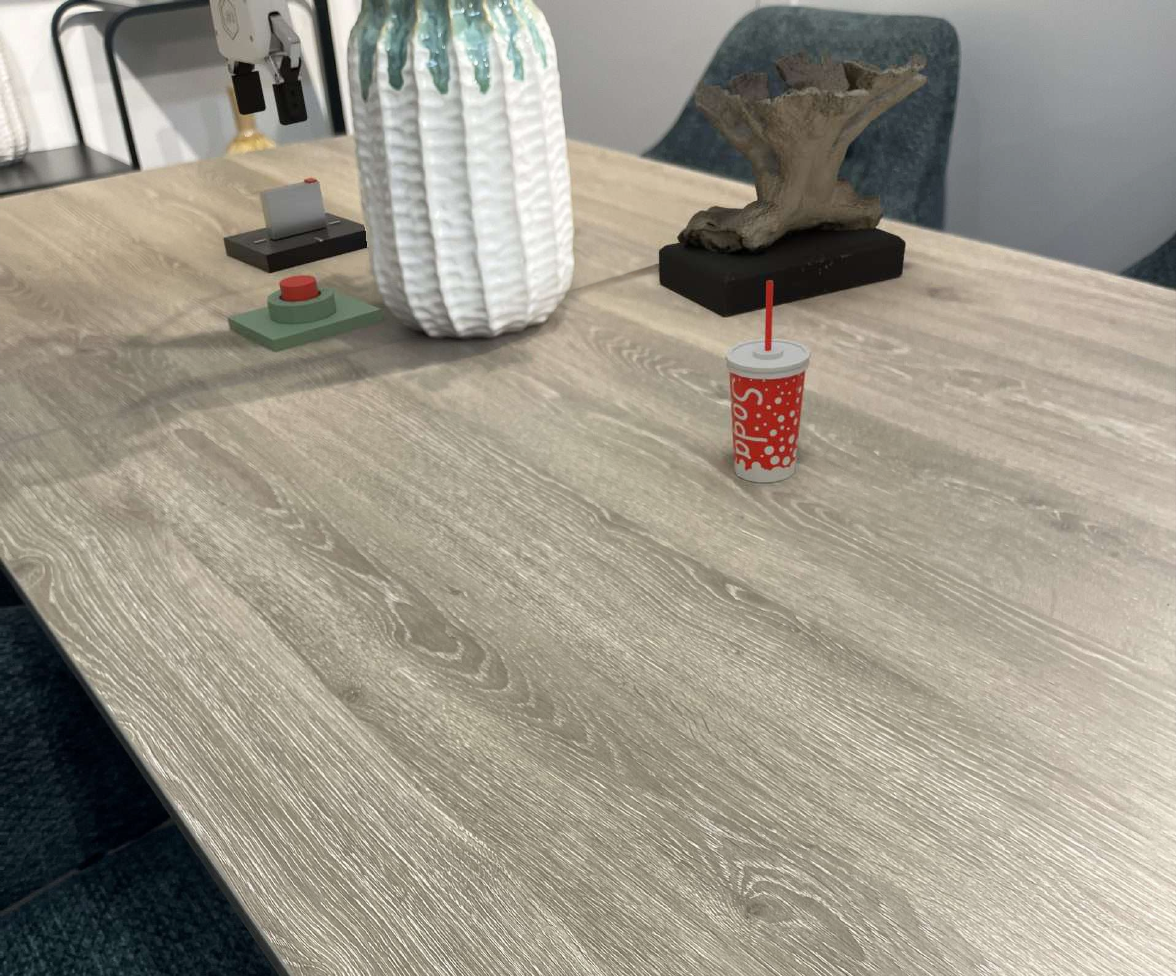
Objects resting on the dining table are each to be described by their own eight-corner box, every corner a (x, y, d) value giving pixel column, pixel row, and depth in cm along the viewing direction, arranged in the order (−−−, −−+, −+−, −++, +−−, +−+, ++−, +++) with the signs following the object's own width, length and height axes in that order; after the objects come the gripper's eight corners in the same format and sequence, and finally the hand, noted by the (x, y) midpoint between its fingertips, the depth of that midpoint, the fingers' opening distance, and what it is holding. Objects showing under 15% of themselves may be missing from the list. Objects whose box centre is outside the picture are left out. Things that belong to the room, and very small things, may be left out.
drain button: (293, 307, 125) (289, 288, 124) (276, 299, 127) (272, 281, 126) (325, 298, 127) (322, 279, 125) (308, 290, 129) (304, 272, 128)
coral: (854, 241, 143) (869, 21, 130) (968, 287, 128) (997, 43, 115) (655, 281, 136) (649, 52, 123) (751, 335, 121) (756, 81, 108)
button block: (278, 362, 123) (269, 320, 121) (232, 339, 130) (222, 299, 127) (384, 331, 129) (377, 290, 126) (335, 309, 135) (328, 270, 133)
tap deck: (272, 282, 144) (266, 253, 142) (228, 264, 151) (222, 236, 150) (378, 254, 151) (373, 226, 149) (331, 237, 158) (326, 210, 156)
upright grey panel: (274, 240, 147) (264, 191, 144) (268, 237, 148) (258, 189, 145) (327, 226, 150) (319, 179, 147) (320, 224, 151) (312, 177, 148)
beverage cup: (711, 463, 99) (711, 277, 90) (781, 447, 100) (788, 263, 92) (746, 493, 94) (750, 300, 86) (820, 476, 96) (830, 285, 87)
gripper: (168, -63, 136) (208, 115, 146) (241, -59, 125) (280, 134, 135) (231, -72, 139) (267, 103, 150) (309, -68, 128) (341, 120, 139)
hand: (273, 117), depth 142 cm, fingers open, 9 cm apart
